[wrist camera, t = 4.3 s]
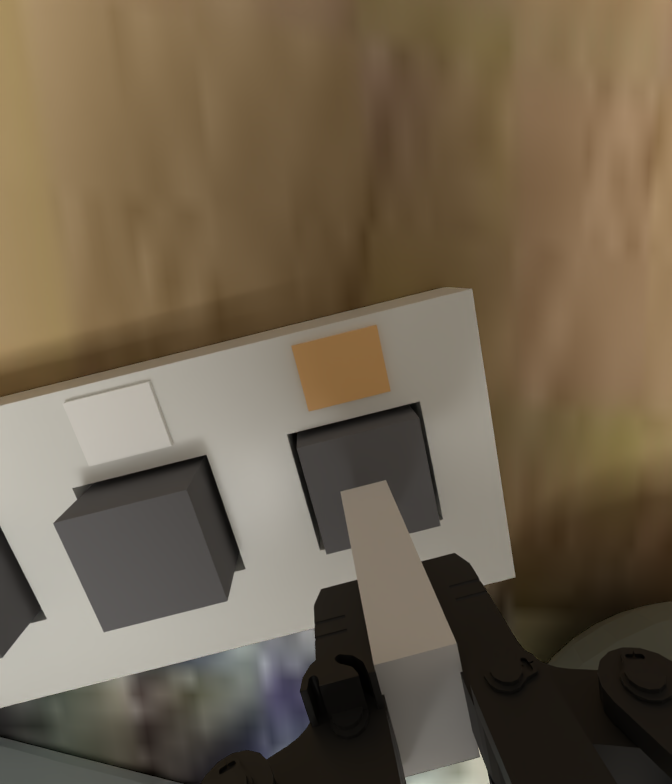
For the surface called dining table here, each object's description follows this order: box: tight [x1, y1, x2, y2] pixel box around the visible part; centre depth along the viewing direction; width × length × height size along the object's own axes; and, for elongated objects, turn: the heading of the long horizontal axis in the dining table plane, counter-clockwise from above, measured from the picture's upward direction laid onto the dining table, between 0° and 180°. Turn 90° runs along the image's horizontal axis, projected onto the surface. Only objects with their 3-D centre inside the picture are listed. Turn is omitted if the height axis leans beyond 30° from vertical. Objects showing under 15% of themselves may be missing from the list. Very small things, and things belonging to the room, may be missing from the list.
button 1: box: [297, 404, 441, 554], centre depth 17 cm, size 4×4×3 cm
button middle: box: [53, 455, 239, 632], centre depth 16 cm, size 4×4×3 cm
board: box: [0, 287, 515, 708], centre depth 18 cm, size 26×12×3 cm, turn 103°
